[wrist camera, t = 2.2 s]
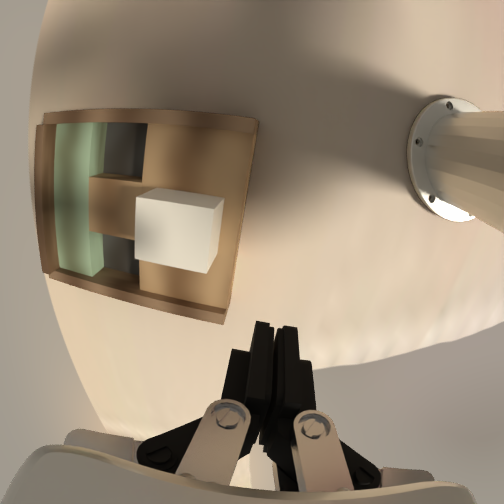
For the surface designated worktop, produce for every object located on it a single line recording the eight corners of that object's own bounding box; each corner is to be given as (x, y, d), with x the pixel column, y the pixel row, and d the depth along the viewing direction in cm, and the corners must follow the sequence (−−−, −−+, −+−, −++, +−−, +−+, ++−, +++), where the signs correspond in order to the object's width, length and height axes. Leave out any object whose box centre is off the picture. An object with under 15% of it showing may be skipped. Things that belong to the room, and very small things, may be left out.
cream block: (224, 197, 23) (214, 209, 20) (217, 253, 25) (206, 273, 22) (157, 187, 24) (136, 197, 20) (153, 241, 25) (134, 258, 22)
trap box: (258, 121, 24) (254, 117, 19) (229, 302, 31) (221, 331, 26) (67, 113, 24) (37, 113, 20) (68, 263, 31) (44, 281, 27)
